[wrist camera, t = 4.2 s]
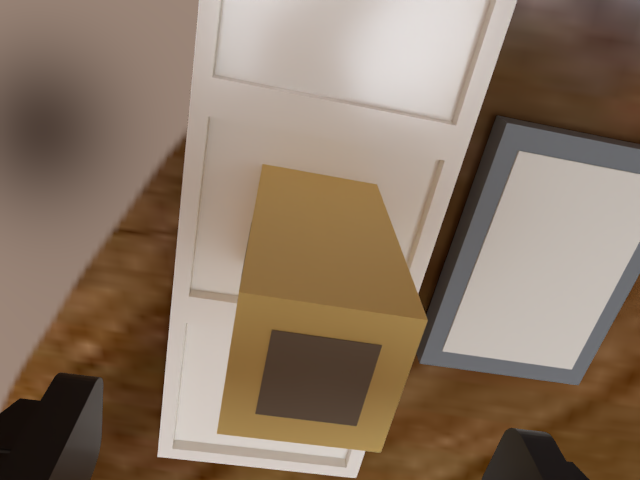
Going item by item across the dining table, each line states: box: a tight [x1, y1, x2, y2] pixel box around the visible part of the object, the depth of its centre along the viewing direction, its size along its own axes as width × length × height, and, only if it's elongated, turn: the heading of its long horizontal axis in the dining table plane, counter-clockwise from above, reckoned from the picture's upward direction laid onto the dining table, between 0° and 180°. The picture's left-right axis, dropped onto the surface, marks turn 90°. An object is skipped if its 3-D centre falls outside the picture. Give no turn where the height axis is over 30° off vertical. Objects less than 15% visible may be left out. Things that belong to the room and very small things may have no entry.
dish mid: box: [171, 93, 468, 316], centre depth 19 cm, size 8×9×1 cm
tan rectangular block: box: [217, 164, 428, 453], centre depth 15 cm, size 4×4×8 cm
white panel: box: [157, 308, 365, 478], centre depth 22 cm, size 8×9×1 cm
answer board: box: [416, 115, 640, 385], centre depth 20 cm, size 10×7×1 cm
